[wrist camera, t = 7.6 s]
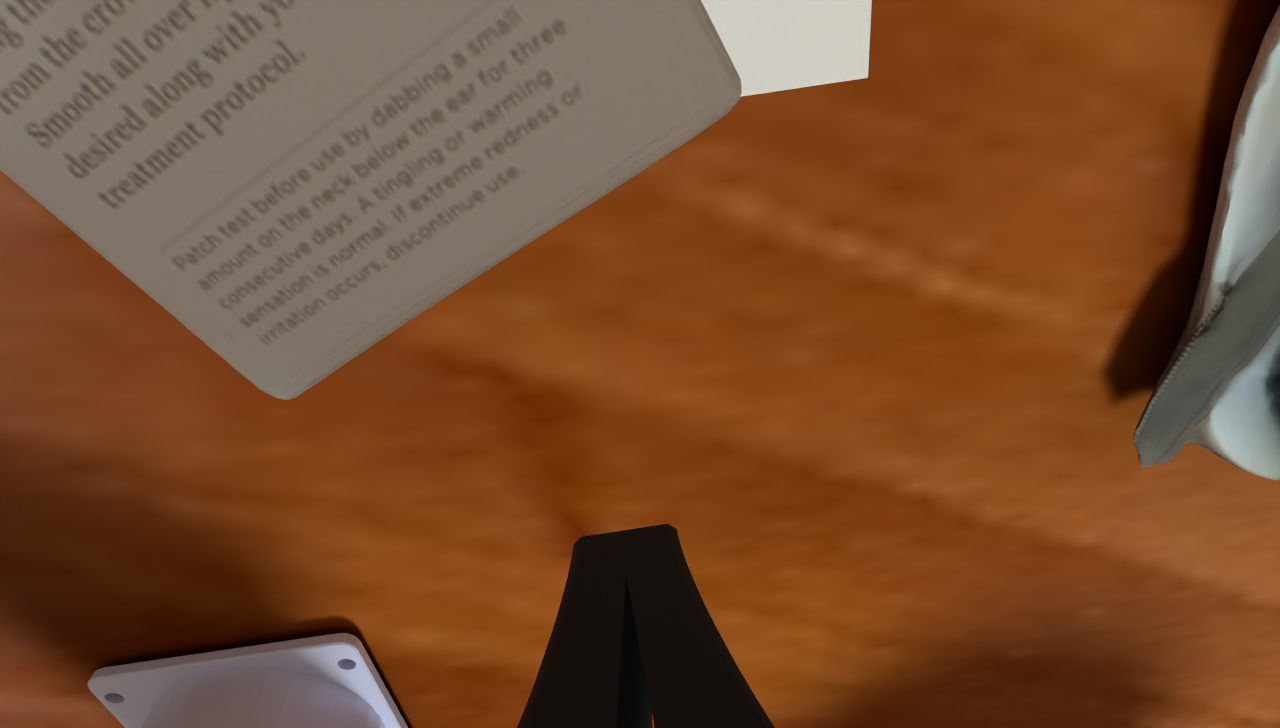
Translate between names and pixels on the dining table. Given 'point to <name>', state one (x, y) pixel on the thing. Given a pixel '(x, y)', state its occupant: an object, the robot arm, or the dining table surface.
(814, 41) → the mat
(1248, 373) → the salad plate
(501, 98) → the small box
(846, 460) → the dining table surface
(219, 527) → the dining table surface
